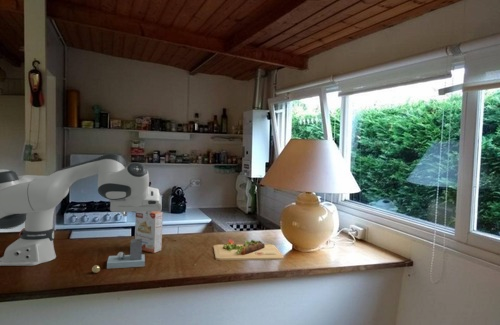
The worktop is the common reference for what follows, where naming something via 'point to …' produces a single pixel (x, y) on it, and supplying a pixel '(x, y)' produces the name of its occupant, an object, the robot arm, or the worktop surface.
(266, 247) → the cutting board
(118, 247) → the worktop surface
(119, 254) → the ball
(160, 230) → the cracker box
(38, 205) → the robot arm
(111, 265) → the deck
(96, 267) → the brass ball
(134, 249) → the block
